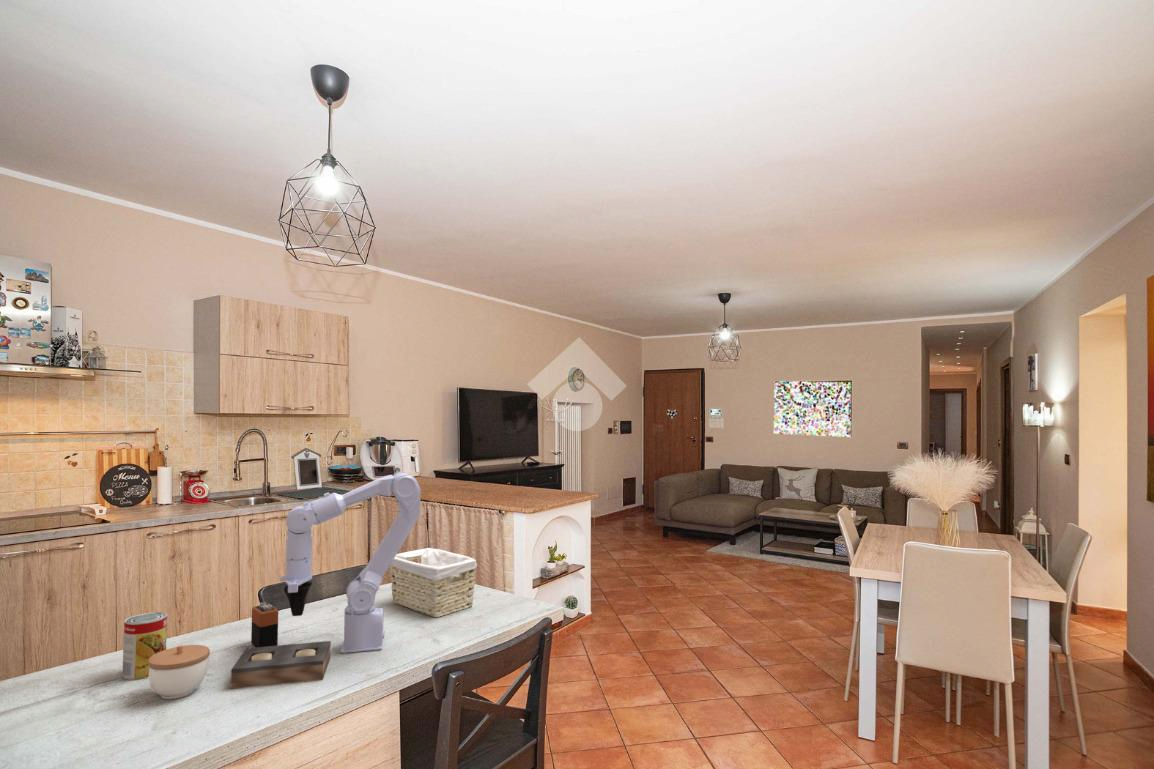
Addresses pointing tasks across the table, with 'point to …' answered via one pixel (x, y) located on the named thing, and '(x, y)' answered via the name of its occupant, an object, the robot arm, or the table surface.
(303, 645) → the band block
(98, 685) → the table surface
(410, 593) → the storage basket
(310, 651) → the inner peg
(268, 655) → the outer peg
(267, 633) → the battery
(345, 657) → the table surface
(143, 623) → the canned food
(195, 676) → the lidded jar
